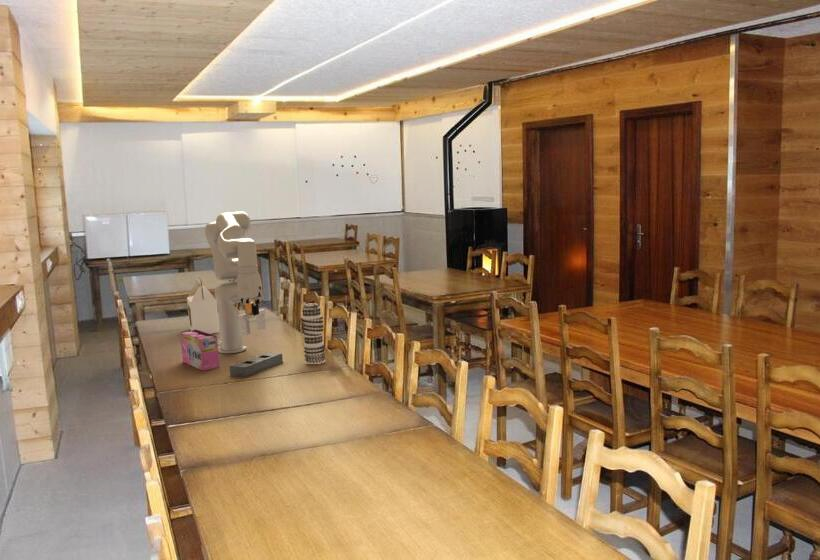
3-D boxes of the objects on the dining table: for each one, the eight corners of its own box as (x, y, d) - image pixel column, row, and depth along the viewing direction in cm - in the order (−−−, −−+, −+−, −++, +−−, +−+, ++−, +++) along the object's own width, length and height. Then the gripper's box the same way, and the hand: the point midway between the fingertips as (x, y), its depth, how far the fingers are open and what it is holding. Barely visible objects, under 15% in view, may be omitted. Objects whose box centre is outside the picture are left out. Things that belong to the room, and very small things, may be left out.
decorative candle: (322, 365, 311) (318, 305, 308) (301, 365, 313) (296, 306, 310) (329, 359, 320) (324, 301, 317) (308, 359, 322) (304, 302, 318)
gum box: (181, 361, 332) (178, 331, 330) (198, 358, 337) (195, 328, 335) (202, 371, 313) (199, 339, 311) (220, 367, 318) (217, 335, 316)
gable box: (189, 328, 408) (184, 277, 405) (214, 325, 413) (209, 275, 409) (193, 336, 388) (188, 282, 384) (219, 332, 392) (214, 279, 389)
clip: (239, 334, 303) (236, 305, 302) (261, 327, 316) (259, 299, 314) (245, 335, 302) (242, 305, 300) (267, 328, 314) (265, 299, 312)
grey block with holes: (230, 375, 302) (229, 366, 302) (267, 361, 323) (267, 352, 323) (245, 377, 299) (245, 367, 298) (282, 362, 320) (282, 353, 319)
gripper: (226, 271, 306) (230, 315, 308) (258, 271, 298) (262, 317, 301) (239, 268, 312) (242, 312, 315) (270, 269, 305) (274, 313, 307)
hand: (252, 314), depth 308 cm, fingers closed on clip, 3 cm apart
